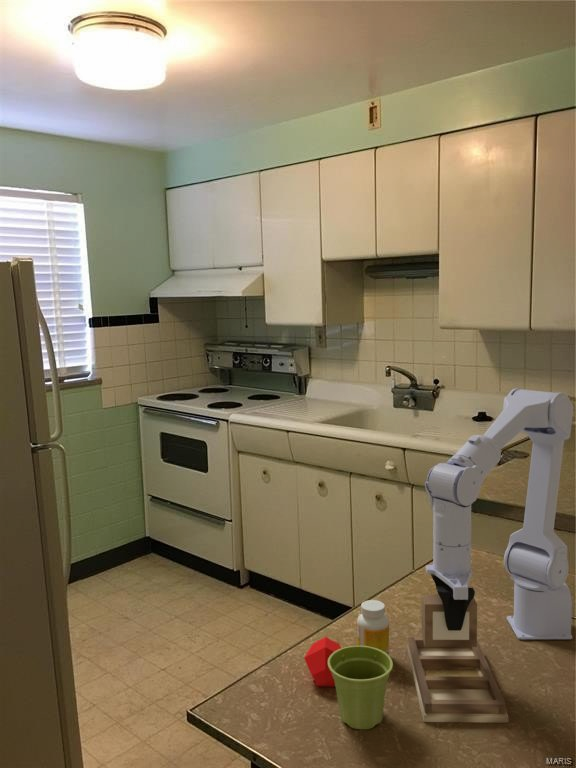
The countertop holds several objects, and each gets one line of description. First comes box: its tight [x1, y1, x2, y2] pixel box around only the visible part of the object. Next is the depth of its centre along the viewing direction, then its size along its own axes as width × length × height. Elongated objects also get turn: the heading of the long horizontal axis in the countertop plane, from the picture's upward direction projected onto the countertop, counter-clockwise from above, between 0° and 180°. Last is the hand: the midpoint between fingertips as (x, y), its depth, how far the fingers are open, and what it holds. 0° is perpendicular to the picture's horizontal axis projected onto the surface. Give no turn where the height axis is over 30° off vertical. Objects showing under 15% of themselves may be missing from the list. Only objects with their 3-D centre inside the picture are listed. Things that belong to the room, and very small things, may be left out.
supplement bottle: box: [356, 599, 390, 656], centre depth 112 cm, size 5×5×10 cm
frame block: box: [421, 593, 478, 647], centre depth 105 cm, size 8×4×7 cm, turn 87°
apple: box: [303, 636, 342, 688], centre depth 107 cm, size 7×7×8 cm
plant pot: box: [328, 645, 394, 730], centre depth 96 cm, size 9×9×9 cm
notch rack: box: [406, 636, 509, 724], centre depth 105 cm, size 12×20×2 cm, turn 177°
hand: (451, 622), depth 105 cm, fingers closed on frame block, 3 cm apart
